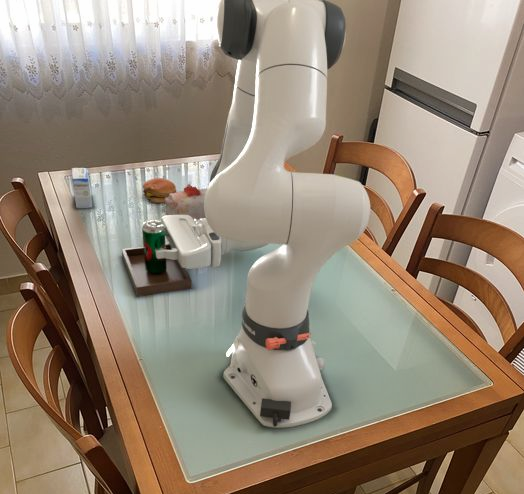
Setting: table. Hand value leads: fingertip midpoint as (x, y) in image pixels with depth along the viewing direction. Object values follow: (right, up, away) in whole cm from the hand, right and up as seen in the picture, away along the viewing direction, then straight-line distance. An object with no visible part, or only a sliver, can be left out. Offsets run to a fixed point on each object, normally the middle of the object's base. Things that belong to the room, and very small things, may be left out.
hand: (150, 243), depth 122 cm
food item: (+6, +12, +27) cm, 30 cm away
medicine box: (-26, +18, +31) cm, 44 cm away
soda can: (0, -5, +5) cm, 7 cm away
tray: (0, -6, +5) cm, 8 cm away
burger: (-5, +21, +37) cm, 44 cm away
